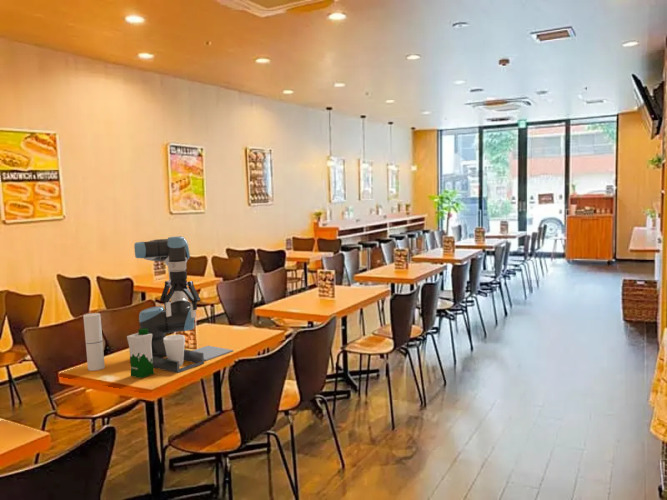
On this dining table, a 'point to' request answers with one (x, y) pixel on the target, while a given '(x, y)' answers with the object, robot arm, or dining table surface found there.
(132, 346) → the milk carton
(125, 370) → the dining table surface
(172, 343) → the foam cup
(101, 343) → the cylindrical container
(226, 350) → the mat
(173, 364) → the cup stand
